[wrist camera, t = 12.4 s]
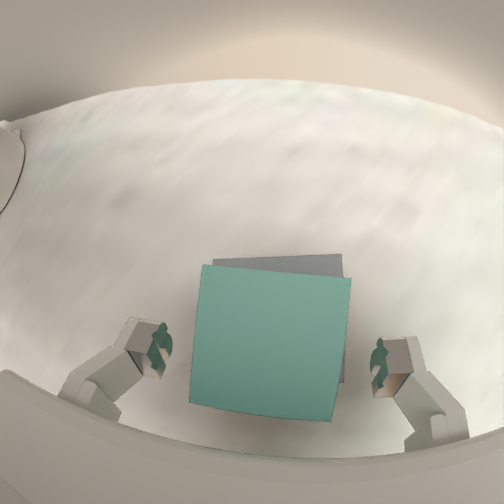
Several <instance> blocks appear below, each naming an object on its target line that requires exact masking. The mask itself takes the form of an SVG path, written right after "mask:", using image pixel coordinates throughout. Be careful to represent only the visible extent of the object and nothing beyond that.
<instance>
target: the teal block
mask: <svg viewBox="0 0 504 504" xmlns="http://www.w3.org/2000/svg"><path fill="white" fill-rule="evenodd" d="M350 287H351V278H342V277H330V276H318V275H307V274H295V273H284V272H273V271H263V270H252V269H242V268H232V267H222V266H212V265H203V266H202V273H201V282H200V290H199V298H198V307H197V317H196V326H195V336H194V347H193V358H192V370H191V382H190V396H189V402H190V403H194V404H199V405H203V406H208V407H213V408H218V409H223V410H228V411H234V412H240V413H246V414H253V415H260V416H267V417H275V418H285V419H295V420H308V421H326V422H331V419H332V414H333V409H334V404H335V399H336V393H337V388H338V382H339V376H340V370H341V364H342V357H343V350H344V343H345V335H346V327H347V318H348V309H349V299H350Z"/></svg>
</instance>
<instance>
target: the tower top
mask: <svg viewBox="0 0 504 504" xmlns="http://www.w3.org/2000/svg"><path fill="white" fill-rule="evenodd" d="M213 266H222V267H232V268H242V269H252V270H263V271H273V272H284V273H295V274H307V275H318V276H330V277H342V278H343V270H342V254H329V255H306V256H283V257H259V258H234V259H213ZM338 383H344V350H343V357H342V364H341V370H340V376H339V382H338Z"/></svg>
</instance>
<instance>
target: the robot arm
mask: <svg viewBox="0 0 504 504" xmlns="http://www.w3.org/2000/svg"><path fill="white" fill-rule="evenodd" d="M20 136H21V131H20V130H19V129H17V128H15V129H14V130H13V131H11V132H10V131H8V130H6V129H4V128H3V127H1V126H0V212H1V211H2V210H3V208H4V207H5V205H6V204H7V202H8V200H9V198H10V197H11V195H12V193H13V190H14V188H15V186H16V183H17V181H18V178H19V175H20V172H21V169H22V165H23V160H24V152H25V149H24V144H23V142H22V141H21V138H20ZM167 329H168V328H167V326H166V324H165V323H162V322H156V321H151V320H145V319H140V318H135V317H131V318H129V319H128V320H127V322H126V324H125V326H124V328H123V329H122V331H121V333H120V335H119V337H118V338H117V340H116V342H115V344H114V346H113V347H112V346H110V347H108V348H107V349H105V350H104V351H102V352H101V353H99V354H98V355H96V356H95V357H93V358H91V359H90V360H88V361H87V362H85V363H84V364H82V365H81V366H79V367H78V368H76V369H75V370H73V371H72V372H70V374H69V376H68V377H67V379H66V381H65V383H64V385H63V387H62V389H61V391H60V392H59V394H58V396H55V395H53V394H51V393H49V392H47V391H46V390H44V389H42V388H40V387H38V386H36V385H35V384H33V383H31V382H29V381H28V380H26V379H24V378H23V377H21V376H19V375H18V374H16V373H14V372H13V371H11V370H7V369H6V370H3V371H1V372H0V504H504V427H502V428H499V429H496V430H493V431H491V432H488V433H485V434H481V435H478V436H475V437H472V438H470V437H469V431H468V425H467V420H466V415H465V410H464V408H463V407H462V406H461V405H460V403H459V402H458V401H457V400H456V399H455V398H454V397H453V396H452V395H451V394H450V393H449V392H448V390H447V389H446V388H445V387H444V386H443V385H442V384H441V383H440V382H439V381H438V380H437V379H436V378H435V377H434V376H433V375H432V374H431V372H426V368H425V364H424V359H423V356H422V352H421V348H420V344H419V341H418V338H417V337H415V336H414V337H380V338H379V339H378V341H377V348H376V349H375V350H373V353H372V355H371V361H370V370H371V374H372V375H373V376H374V377H375V378H374V380H373V382H372V390H373V398H379V397H393V399H394V400H395V402H396V403H397V405H398V406H399V408H400V409H401V410H402V412H403V413H404V415H405V416H406V418H407V419H408V421H409V422H410V424H411V425H412V427H413V428H414V430H415V432H413V433H412V434H411V435H410V436H409V437H407V438H406V440H405V441H404V444H405V452H403V453H396V454H388V455H379V456H368V457H353V458H290V457H275V456H264V455H255V454H246V453H239V452H232V451H226V450H220V449H214V448H209V447H204V446H199V445H194V444H190V443H185V442H181V441H177V440H173V439H169V438H165V437H162V436H158V435H155V434H151V433H148V432H145V431H141V430H138V429H135V428H132V427H129V426H126V425H123V424H121V423H118V420H119V417H120V414H121V411H120V409H119V408H118V407H117V406H116V405H115V404H114V403H113V402H115V401H116V400H117V399H118V398H119V397H120V396H121V395H123V394H124V393H125V392H126V391H127V390H128V389H129V388H130V387H132V386H133V385H134V384H135V383H136V382H137V381H138V380H140V379H141V378H142V377H143V376H142V375H144V376H148V377H153V378H158V379H161V378H162V375H163V372H164V370H165V367H166V364H165V360H166V359H168V358H169V357H170V355H171V352H172V345H173V344H172V338H171V336H170V335H169V334H168V333H167V332H166V331H167Z"/></svg>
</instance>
